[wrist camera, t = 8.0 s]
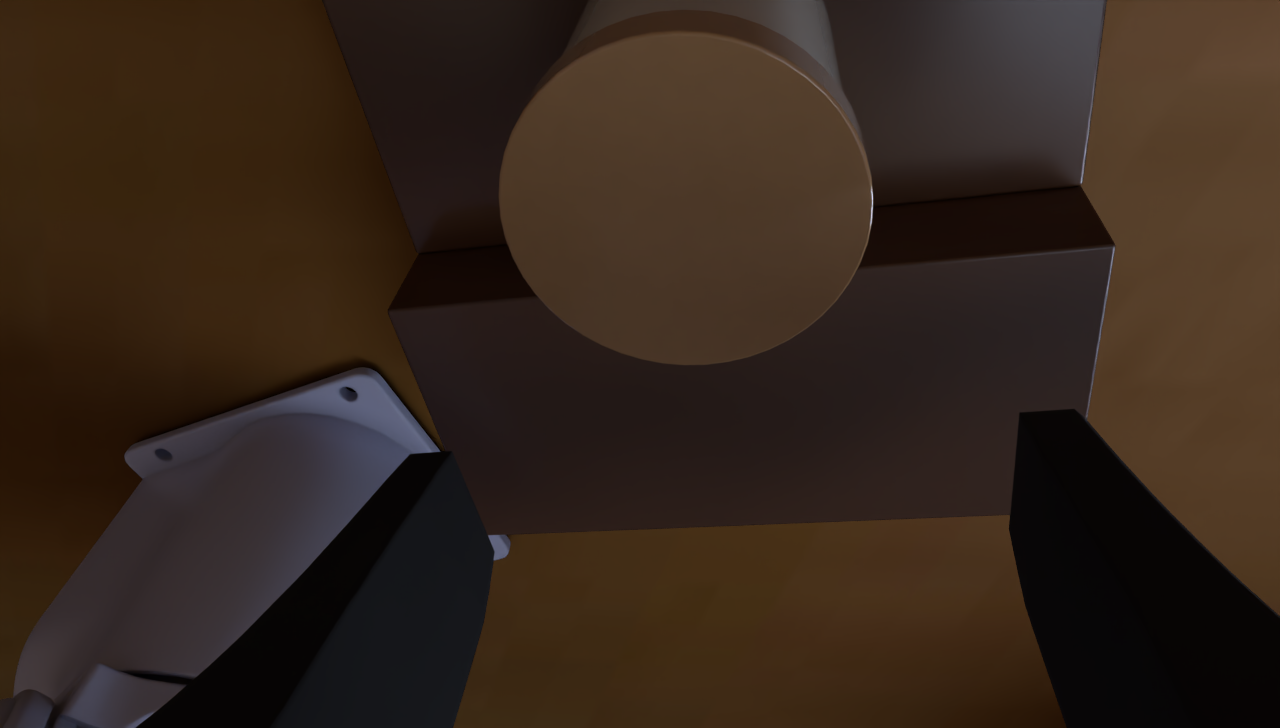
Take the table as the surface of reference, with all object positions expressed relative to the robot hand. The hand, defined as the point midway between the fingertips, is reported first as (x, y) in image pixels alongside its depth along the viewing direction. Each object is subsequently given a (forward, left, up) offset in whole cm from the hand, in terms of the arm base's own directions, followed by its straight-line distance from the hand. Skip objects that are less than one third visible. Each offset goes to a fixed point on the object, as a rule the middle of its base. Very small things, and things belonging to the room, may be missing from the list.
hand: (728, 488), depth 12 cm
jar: (+1, +3, -7) cm, 8 cm away
